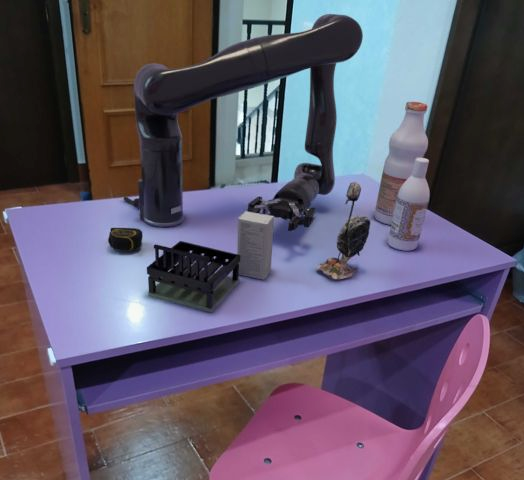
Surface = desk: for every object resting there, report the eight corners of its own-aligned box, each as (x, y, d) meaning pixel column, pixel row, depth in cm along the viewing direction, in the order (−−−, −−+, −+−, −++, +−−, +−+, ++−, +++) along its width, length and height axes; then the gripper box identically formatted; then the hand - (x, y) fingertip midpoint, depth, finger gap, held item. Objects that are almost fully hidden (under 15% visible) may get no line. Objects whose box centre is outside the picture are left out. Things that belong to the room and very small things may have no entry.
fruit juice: (375, 210, 149) (398, 97, 132) (411, 216, 147) (438, 102, 131) (371, 222, 141) (394, 104, 125) (408, 229, 139) (437, 110, 123)
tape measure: (143, 241, 123) (142, 225, 120) (140, 255, 117) (139, 239, 115) (111, 240, 122) (110, 224, 120) (107, 254, 116) (105, 237, 114)
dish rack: (148, 296, 104) (145, 245, 98) (180, 267, 114) (179, 220, 108) (211, 313, 100) (212, 261, 95) (239, 282, 111) (241, 234, 105)
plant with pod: (373, 274, 118) (393, 181, 106) (329, 284, 113) (345, 187, 101) (350, 258, 123) (367, 168, 112) (307, 266, 118) (320, 173, 107)
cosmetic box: (270, 271, 115) (275, 216, 108) (263, 281, 112) (268, 224, 105) (242, 265, 117) (245, 210, 110) (234, 274, 113) (237, 217, 106)
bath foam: (402, 253, 127) (423, 166, 115) (381, 242, 132) (399, 156, 120) (423, 248, 130) (445, 162, 119) (401, 237, 135) (421, 153, 123)
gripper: (266, 177, 128) (239, 199, 116) (326, 188, 125) (304, 212, 112) (264, 208, 133) (238, 233, 120) (321, 220, 129) (300, 247, 117)
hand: (270, 223), depth 116 cm, fingers open, 8 cm apart
